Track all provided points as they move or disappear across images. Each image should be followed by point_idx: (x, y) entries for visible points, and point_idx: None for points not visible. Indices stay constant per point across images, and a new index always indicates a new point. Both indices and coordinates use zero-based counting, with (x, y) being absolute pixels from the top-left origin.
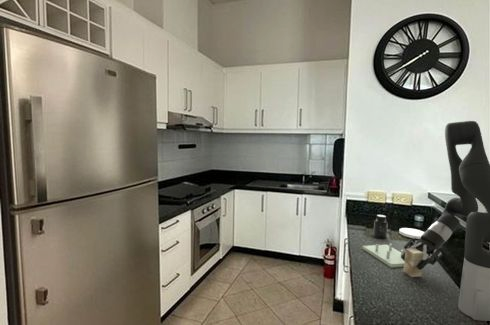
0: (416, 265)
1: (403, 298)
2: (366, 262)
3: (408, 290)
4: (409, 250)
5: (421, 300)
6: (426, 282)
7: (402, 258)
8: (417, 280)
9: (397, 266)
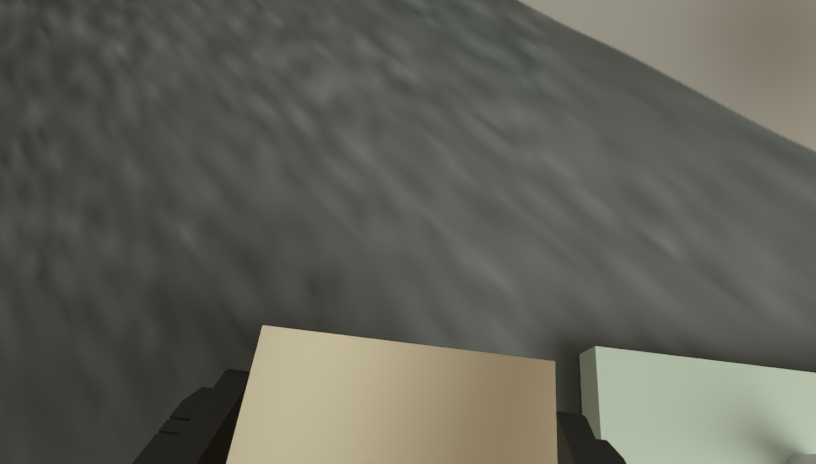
0: None
1: (150, 51)
2: (708, 193)
3: (192, 155)
4: (441, 370)
5: (62, 132)
6: None
7: None
8: None
9: None
